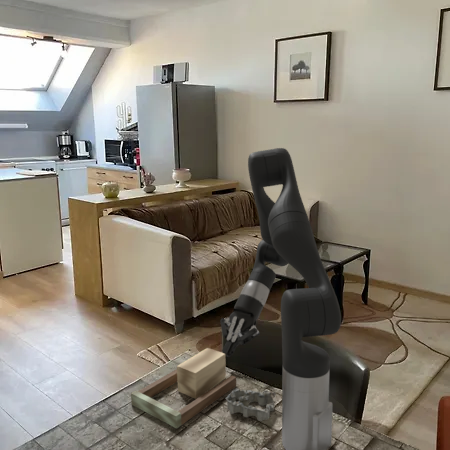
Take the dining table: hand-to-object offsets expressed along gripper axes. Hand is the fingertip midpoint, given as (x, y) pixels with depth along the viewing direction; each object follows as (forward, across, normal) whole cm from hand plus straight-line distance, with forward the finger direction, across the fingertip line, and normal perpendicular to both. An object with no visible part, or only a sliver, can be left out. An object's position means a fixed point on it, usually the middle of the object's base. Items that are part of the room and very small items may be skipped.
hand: (226, 355), depth 124 cm
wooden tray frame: (+14, 0, -8) cm, 16 cm away
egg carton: (+11, +16, -5) cm, 20 cm away
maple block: (+10, 0, -4) cm, 11 cm away
